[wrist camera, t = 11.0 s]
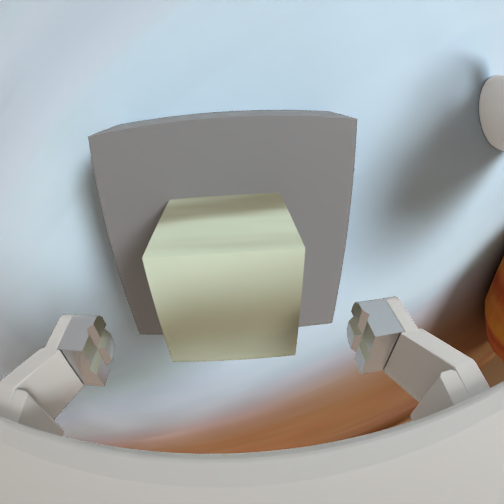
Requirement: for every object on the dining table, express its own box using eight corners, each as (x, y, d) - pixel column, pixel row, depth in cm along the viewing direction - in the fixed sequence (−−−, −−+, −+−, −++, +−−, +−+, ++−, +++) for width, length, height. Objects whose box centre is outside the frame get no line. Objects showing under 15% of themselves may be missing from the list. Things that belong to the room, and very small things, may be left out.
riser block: (117, 125, 14) (88, 136, 11) (329, 111, 15) (357, 118, 12) (151, 294, 21) (140, 334, 17) (316, 284, 21) (332, 323, 18)
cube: (169, 199, 13) (142, 257, 9) (280, 192, 13) (305, 248, 9) (184, 288, 16) (172, 361, 11) (278, 282, 16) (295, 355, 12)
